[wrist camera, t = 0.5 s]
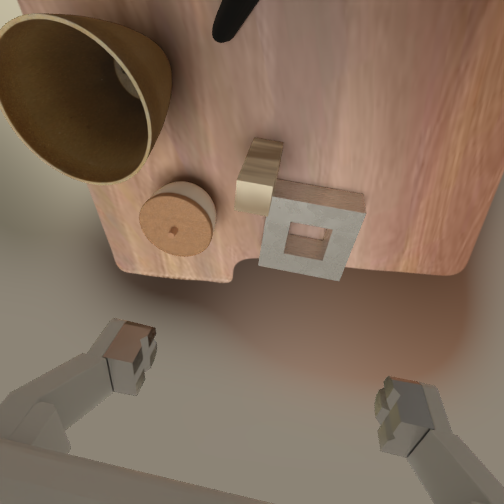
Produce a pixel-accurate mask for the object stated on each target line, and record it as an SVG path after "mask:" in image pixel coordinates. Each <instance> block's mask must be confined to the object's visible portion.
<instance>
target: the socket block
mask: <svg viewBox="0 0 504 504" xmlns="http://www.w3.org/2000/svg"><path fill="white" fill-rule="evenodd" d="M365 215H366V209H365V203H364V196H363V194H359V193H354V192H348V191H342V190H337V189H331V188H326V187H320V186H314V185H309V184H303V183H298V182H292V181H287V180H281V179H277V180H276V184H275V188H274V193H273V197H272V201H271V206H270V210H269V214H268V217H267V216H266V221H265V227H264V233H263V239H262V245H261V251H260V257H259V264H258V265H259V266H264V267H269V268H274V269H279V270H284V271H290V272H294V273H300V274H305V275H310V276H315V277H320V278H326V279H331V280H336V281H339V280H340V278H341V275H342V273H343V270H344V268H345V265H346V263H347V260H348V258H349V255H350V253H351V250H352V248H353V245H354V243H355V240H356V238H357V235H358V233H359V230H360V228H361V225H362V223H363V220H364V218H365ZM290 222H295V223H300V224H306V225H311V226H317V227H322V228H327V229H326V232H325V235H324V238H323V240H318V239H312V238H307V237H302V236H296V235H291V234H288V231H289V226H290Z"/></svg>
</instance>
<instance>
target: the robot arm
mask: <svg viewBox="0 0 504 504" xmlns="http://www.w3.org/2000/svg"><path fill="white" fill-rule="evenodd" d="M155 336H156V328H155V327H151V326H147V325H143V324H138V323H134V322H130V321H125V320H121V319H117V318H113V319H112V320H111V321H109V323H108V324H107V326H106V327H105V328H104V330H103V331H102V333H101V334H100V335H99V337H98V338H97V340H96V341H95V343H94V344H93V345H92V347H91V348H90V350H89V351H88V352H87V354H84V353H82V354H80V355H78V356H76V357H74V358H73V359H71V360H69V361H67V362H66V363H63V364H62V365H60V366H58V367H56V368H54V369H52V370H51V371H49V372H47V373H45V374H43V375H41V376H40V377H38V378H36V379H34V380H32V381H30V382H29V383H27V384H25V385H23V386H21V387H20V388H18V389H16V390H14V391H12V392H10V393H9V395H8V396H7V397H6V398H5V400H4V401H3V402H2V403H1V404H0V504H273V503H268V502H265V501H261V500H256V499H252V498H248V497H244V496H240V495H236V494H231V493H227V492H223V491H219V490H215V489H211V488H207V487H202V486H198V485H194V484H190V483H186V482H181V481H178V480H174V479H169V478H165V477H161V476H157V475H153V474H148V473H144V472H140V471H136V470H132V469H127V468H124V467H119V466H115V465H111V464H107V463H103V462H99V461H94V460H90V459H86V458H82V457H78V456H73V455H70V454H68V453H69V451H70V449H71V446H70V443H69V440H68V438H67V436H66V433H65V430H67V429H68V428H69V427H70V426H72V425H73V424H74V423H75V422H77V421H78V420H79V419H81V418H82V417H83V416H84V415H86V414H87V413H88V412H89V411H91V410H92V409H93V408H95V407H96V406H97V405H98V404H100V403H101V402H102V401H103V400H105V399H106V398H107V397H109V396H110V395H111V394H112V393H113V392H118V393H123V394H128V395H133V396H137V395H138V393H139V391H140V389H141V387H142V385H143V383H144V381H145V373H144V372H146V371H147V370H149V369H150V368H151V366H152V364H153V362H154V359H155V356H156V352H157V342H156V341H155V340H154V337H155ZM375 416H376V419H377V420H378V422H379V423H380V424H381V426H380V428H379V429H378V438H379V444H380V451H382V452H386V453H390V454H394V455H398V456H402V457H406V458H407V461H408V462H409V464H410V466H411V467H412V469H413V470H414V472H415V474H416V475H417V477H418V478H419V480H420V482H421V483H422V485H423V486H424V488H425V490H426V491H427V493H428V494H429V496H430V498H431V499H432V501H433V503H434V504H504V487H503V486H502V484H501V483H500V482H499V481H498V480H497V479H496V478H495V477H494V475H493V474H492V473H491V472H490V471H489V470H488V469H487V468H486V467H485V465H484V464H483V463H482V462H481V461H480V460H479V459H478V458H477V456H476V455H475V454H474V453H473V452H472V451H471V450H470V449H469V447H468V446H467V445H466V444H465V443H464V442H463V441H462V440H461V439H460V437H458V435H454V434H453V433H452V430H451V427H450V424H449V421H448V418H447V415H446V412H445V409H444V406H443V403H442V400H441V397H440V394H439V391H438V389H437V387H436V386H433V385H430V384H425V383H419V382H417V381H412V380H406V379H401V378H396V377H391V376H388V377H387V378H386V379H385V381H384V388H383V389H380V390H379V391H378V394H377V395H376V399H375Z"/></svg>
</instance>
